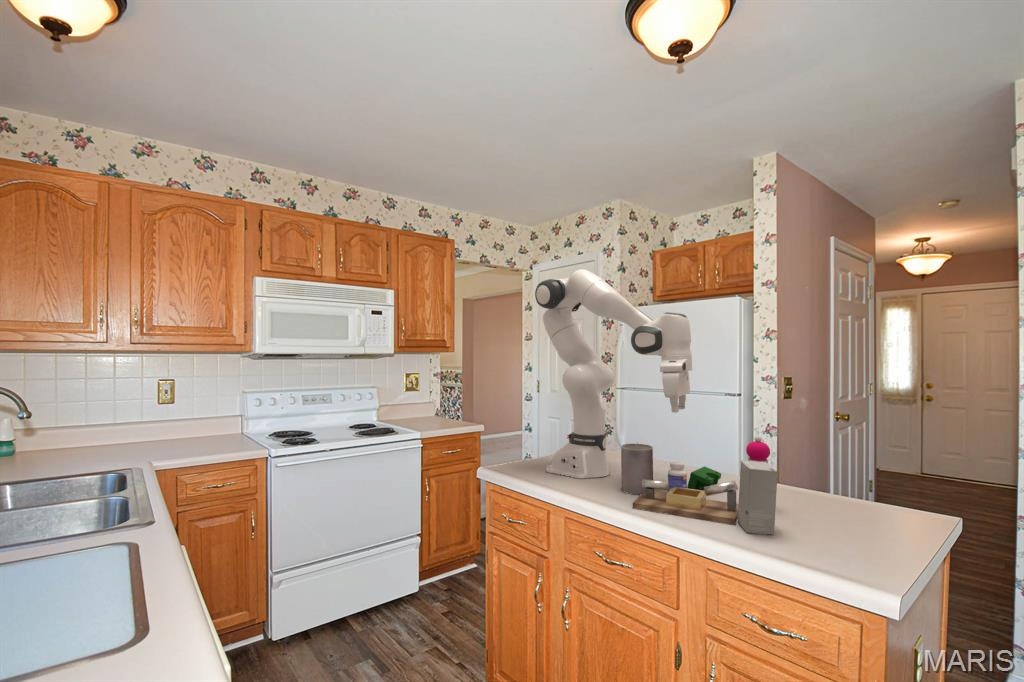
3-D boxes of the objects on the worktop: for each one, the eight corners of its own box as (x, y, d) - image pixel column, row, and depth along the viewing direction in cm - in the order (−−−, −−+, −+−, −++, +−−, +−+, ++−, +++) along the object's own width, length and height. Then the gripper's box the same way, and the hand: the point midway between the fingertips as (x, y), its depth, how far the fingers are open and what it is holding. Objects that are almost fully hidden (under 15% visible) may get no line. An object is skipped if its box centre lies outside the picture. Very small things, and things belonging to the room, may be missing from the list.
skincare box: (736, 522, 127) (736, 459, 127) (767, 523, 126) (766, 460, 126) (746, 534, 118) (746, 467, 119) (779, 536, 117) (778, 468, 118)
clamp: (705, 506, 154) (707, 483, 150) (686, 498, 158) (688, 475, 154) (721, 485, 161) (724, 462, 157) (703, 477, 165) (705, 455, 161)
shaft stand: (632, 508, 138) (632, 474, 138) (646, 495, 150) (646, 464, 150) (734, 525, 125) (734, 487, 125) (741, 509, 137) (740, 475, 137)
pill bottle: (686, 498, 147) (686, 465, 147) (667, 497, 148) (667, 464, 149) (687, 494, 152) (686, 461, 152) (668, 492, 153) (668, 460, 154)
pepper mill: (746, 502, 143) (746, 432, 143) (775, 507, 139) (774, 435, 139) (741, 509, 137) (741, 436, 138) (771, 514, 133) (770, 439, 133)
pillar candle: (636, 484, 162) (635, 438, 162) (660, 491, 154) (659, 442, 154) (614, 489, 157) (614, 441, 157) (638, 497, 148) (638, 446, 149)
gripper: (673, 364, 162) (675, 407, 162) (658, 366, 145) (660, 414, 144) (693, 364, 159) (695, 407, 159) (680, 365, 142) (682, 414, 141)
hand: (678, 410), depth 151 cm, fingers open, 8 cm apart
